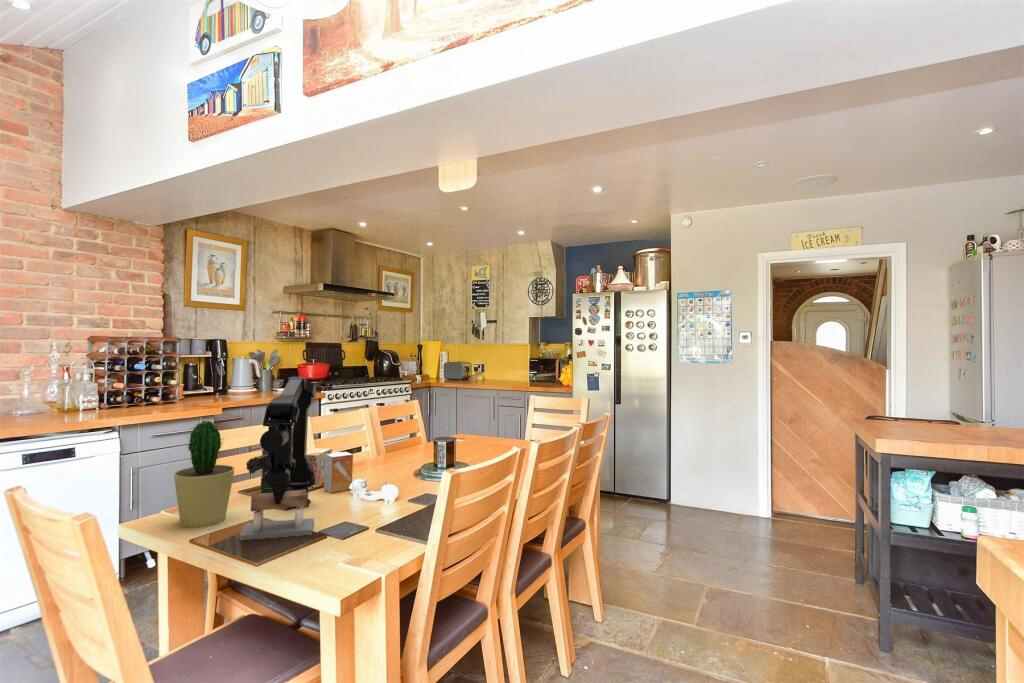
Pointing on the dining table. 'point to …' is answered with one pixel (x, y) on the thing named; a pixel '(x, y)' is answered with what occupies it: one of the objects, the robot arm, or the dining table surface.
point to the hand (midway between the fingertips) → (279, 500)
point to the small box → (338, 471)
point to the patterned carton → (319, 462)
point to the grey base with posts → (277, 527)
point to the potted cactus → (203, 480)
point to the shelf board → (289, 500)
